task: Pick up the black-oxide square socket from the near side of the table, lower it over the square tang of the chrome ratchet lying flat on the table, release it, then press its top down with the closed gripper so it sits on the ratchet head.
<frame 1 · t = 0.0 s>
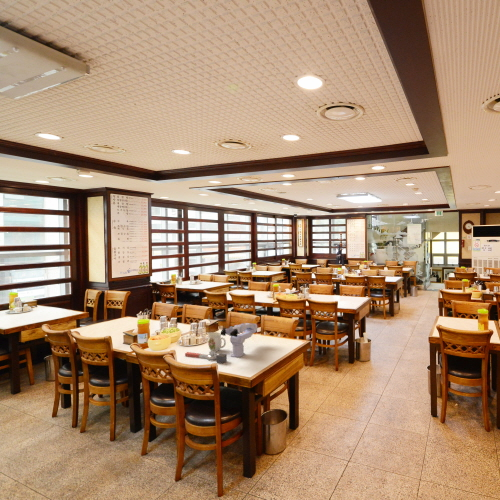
hand: (225, 333, 249), 22 cm above the table, tool horizontal, fingers open, 7 cm apart
ratchet: (212, 358, 261), on the table
pitcher: (216, 350, 281), on the table
socket: (221, 361, 253), on the table
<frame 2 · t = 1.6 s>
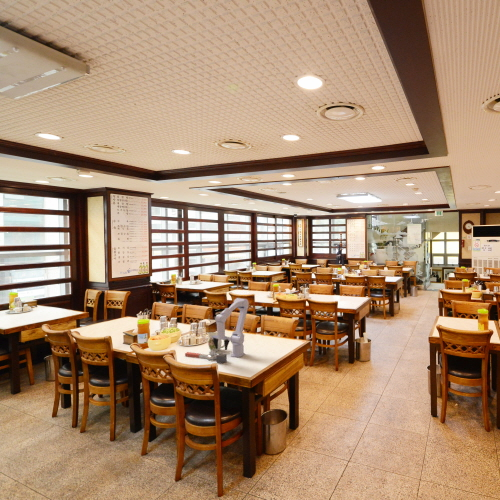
hand: (221, 349, 253), 9 cm above the table, tool pointing down, fingers open, 7 cm apart
nothing on the table moved.
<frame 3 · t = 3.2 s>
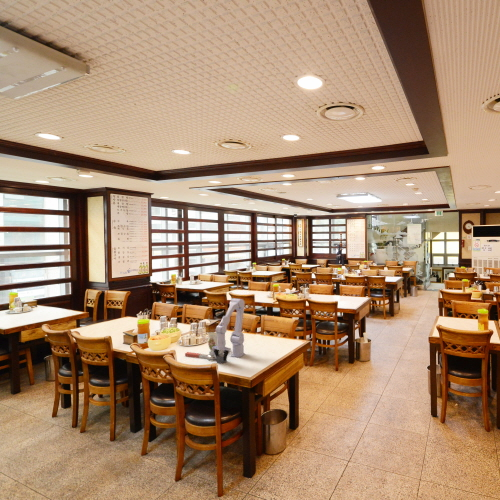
hand: (221, 360, 253), 1 cm above the table, tool pointing down, fingers closed on socket, 6 cm apart
socket: (221, 361, 253), on the table, touching gripper
everything else where it was.
when the fingers open (6 cm above the table, at t = 7.4 s): socket drops 2 cm, resting on ratchet.
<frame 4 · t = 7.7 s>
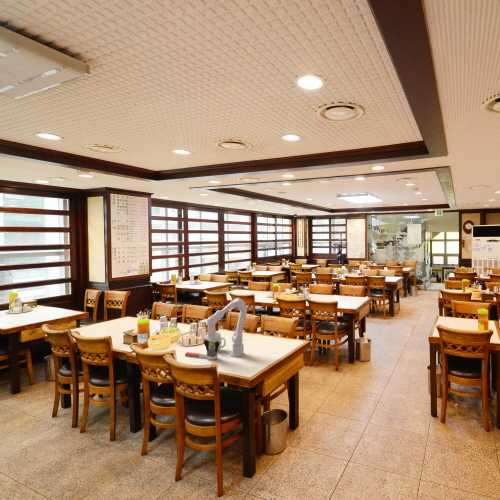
hand: (212, 350, 261), 6 cm above the table, tool pointing down, fingers open, 7 cm apart
ratchet: (212, 358, 261), on the table, touching socket
socket: (212, 355, 261), point 2 cm above the table, touching ratchet
everything else where it was.
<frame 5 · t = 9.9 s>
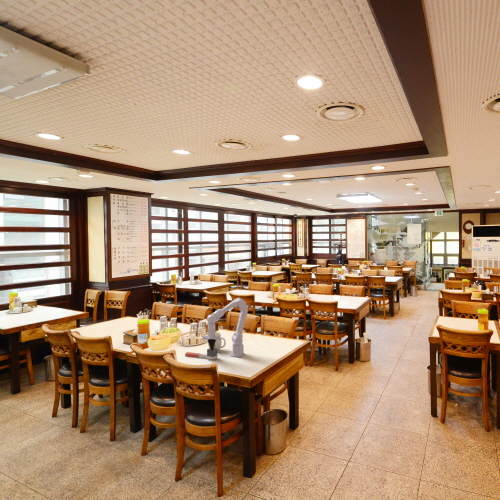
hand: (212, 348, 261), 7 cm above the table, tool pointing down, fingers closed, pressing on socket
socket: (212, 355, 261), point 2 cm above the table, touching gripper, ratchet
everything else where it was.
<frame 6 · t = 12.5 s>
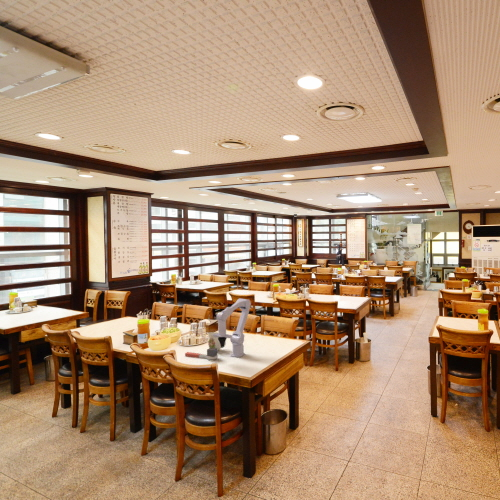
hand: (222, 347, 255), 10 cm above the table, tool pointing down, fingers closed
ratchet: (212, 358, 261), on the table
socket: (212, 355, 261), point 2 cm above the table
everything else where it was.
at the end: socket 0.1 cm off-centre on the ratchet, point 2.5 cm above the ratchet's base; socket tilted 0°; ratchet moved 0.1 cm from its start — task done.
